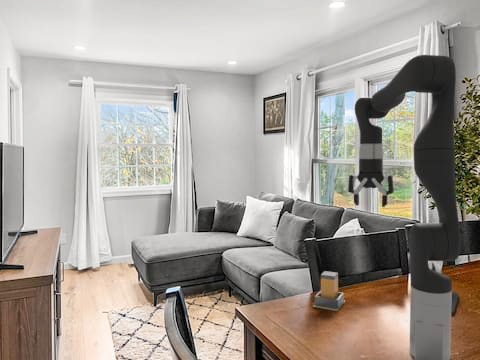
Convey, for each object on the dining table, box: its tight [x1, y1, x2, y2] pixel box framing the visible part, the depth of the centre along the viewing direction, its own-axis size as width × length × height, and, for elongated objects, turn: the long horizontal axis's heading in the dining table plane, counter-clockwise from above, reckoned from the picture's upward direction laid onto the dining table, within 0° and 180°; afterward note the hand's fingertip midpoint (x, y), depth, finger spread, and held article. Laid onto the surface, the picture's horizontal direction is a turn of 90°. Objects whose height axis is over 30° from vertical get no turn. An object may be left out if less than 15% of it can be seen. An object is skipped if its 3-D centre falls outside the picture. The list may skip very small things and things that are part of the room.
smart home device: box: [451, 292, 460, 316], centre depth 134 cm, size 8×2×20 cm
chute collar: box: [314, 289, 345, 310], centre depth 132 cm, size 8×8×3 cm
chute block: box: [320, 270, 339, 299], centre depth 132 cm, size 4×4×10 cm
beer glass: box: [428, 261, 444, 273], centre depth 151 cm, size 7×7×15 cm
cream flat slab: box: [312, 299, 346, 312], centre depth 132 cm, size 10×8×1 cm
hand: (370, 206), depth 134 cm, fingers open, 8 cm apart
